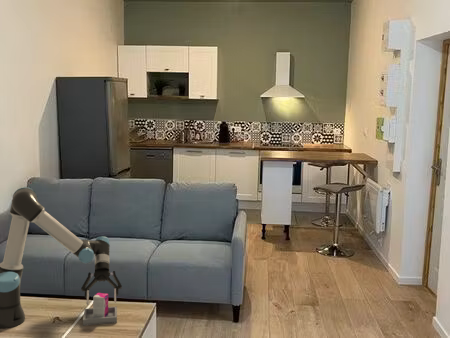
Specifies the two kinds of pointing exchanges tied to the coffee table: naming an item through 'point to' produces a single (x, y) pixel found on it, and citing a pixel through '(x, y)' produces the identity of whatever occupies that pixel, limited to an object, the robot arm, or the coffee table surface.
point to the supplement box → (100, 305)
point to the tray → (110, 318)
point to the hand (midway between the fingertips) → (101, 302)
